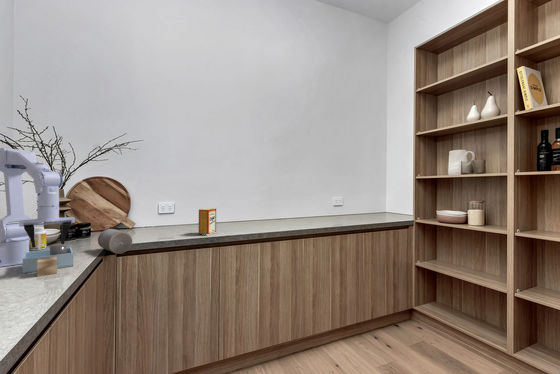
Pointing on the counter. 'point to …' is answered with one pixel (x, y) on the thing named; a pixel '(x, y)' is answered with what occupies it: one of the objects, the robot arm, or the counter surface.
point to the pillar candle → (115, 241)
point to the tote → (32, 257)
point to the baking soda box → (207, 220)
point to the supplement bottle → (39, 239)
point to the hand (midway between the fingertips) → (48, 245)
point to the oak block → (46, 266)
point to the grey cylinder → (58, 249)
